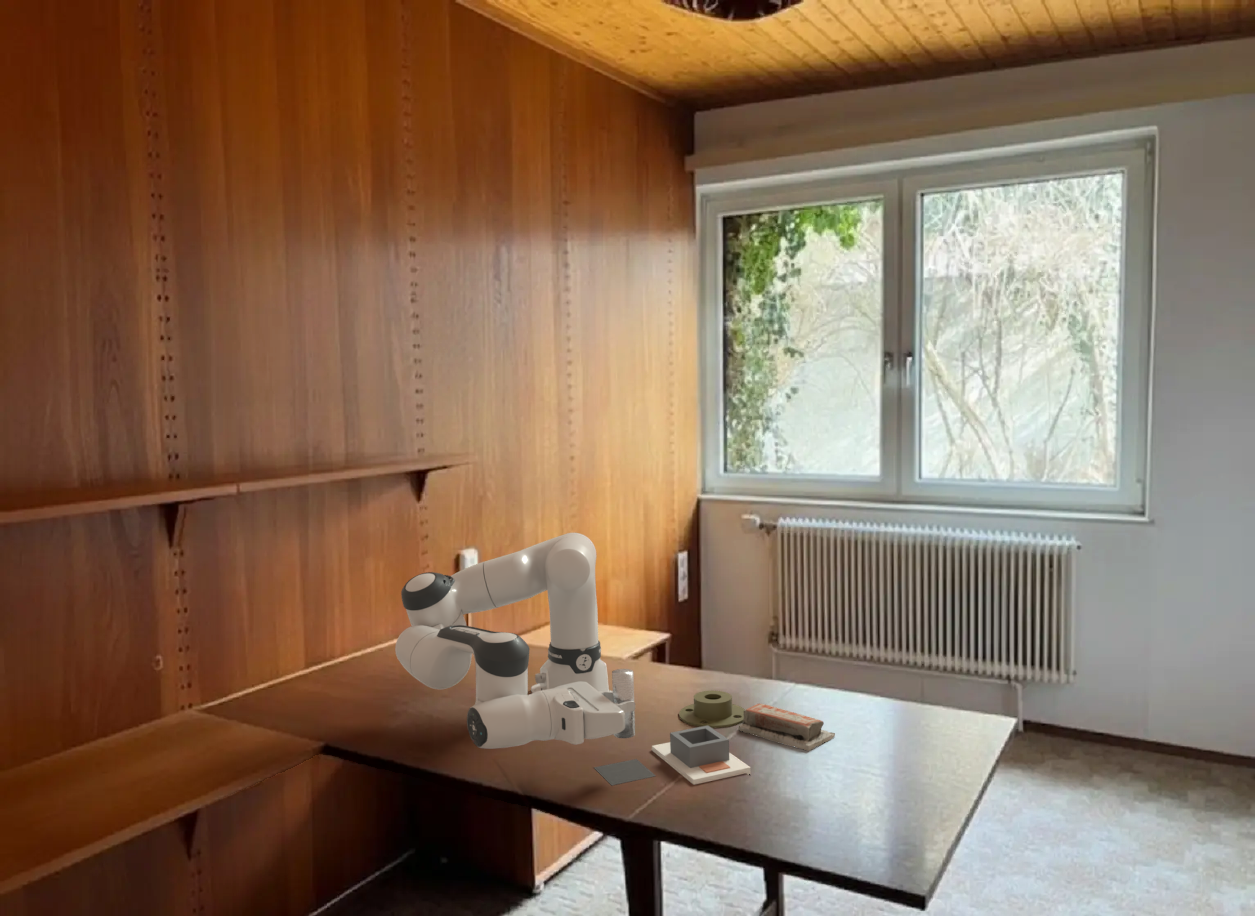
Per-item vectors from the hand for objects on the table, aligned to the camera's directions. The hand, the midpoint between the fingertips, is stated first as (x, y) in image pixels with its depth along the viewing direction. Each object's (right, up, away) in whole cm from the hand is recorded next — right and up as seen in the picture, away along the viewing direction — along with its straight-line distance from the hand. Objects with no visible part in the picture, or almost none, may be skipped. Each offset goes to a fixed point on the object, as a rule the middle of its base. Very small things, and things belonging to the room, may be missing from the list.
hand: (627, 700), depth 177 cm
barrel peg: (-1, -6, 0) cm, 6 cm away
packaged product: (+33, -13, +19) cm, 40 cm away
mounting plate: (+14, -14, +5) cm, 20 cm away
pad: (-1, -14, +1) cm, 14 cm away
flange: (+19, -12, +31) cm, 38 cm away
